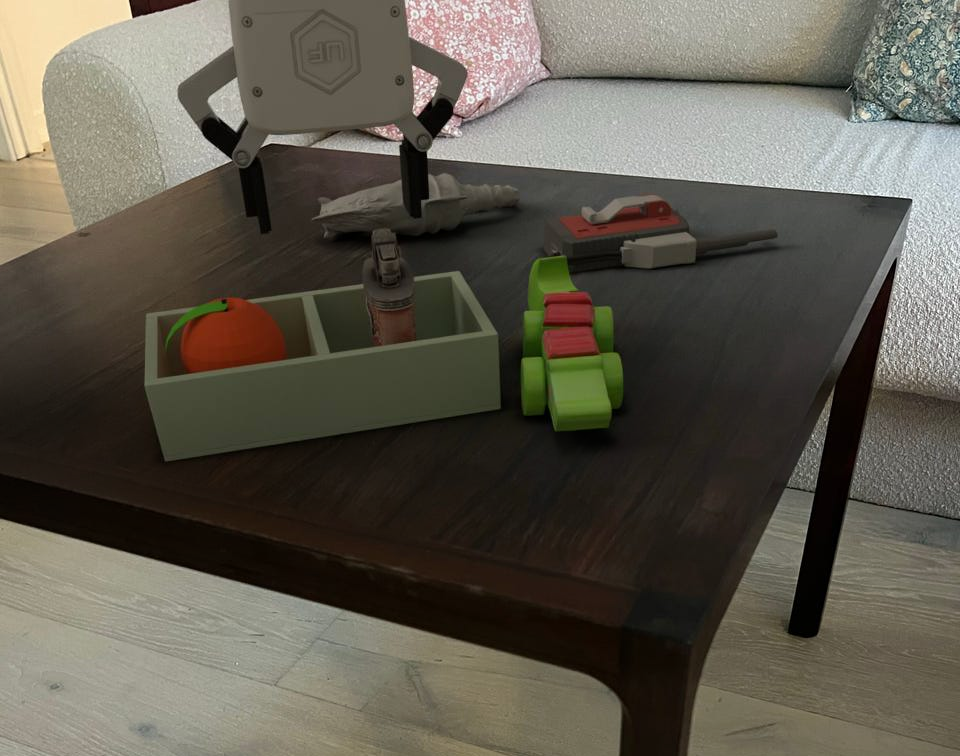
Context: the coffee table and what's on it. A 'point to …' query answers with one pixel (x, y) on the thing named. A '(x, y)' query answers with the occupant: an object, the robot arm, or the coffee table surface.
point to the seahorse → (389, 212)
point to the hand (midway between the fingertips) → (339, 219)
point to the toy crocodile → (568, 352)
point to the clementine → (228, 336)
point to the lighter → (389, 292)
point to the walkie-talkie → (633, 236)
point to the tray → (326, 372)
